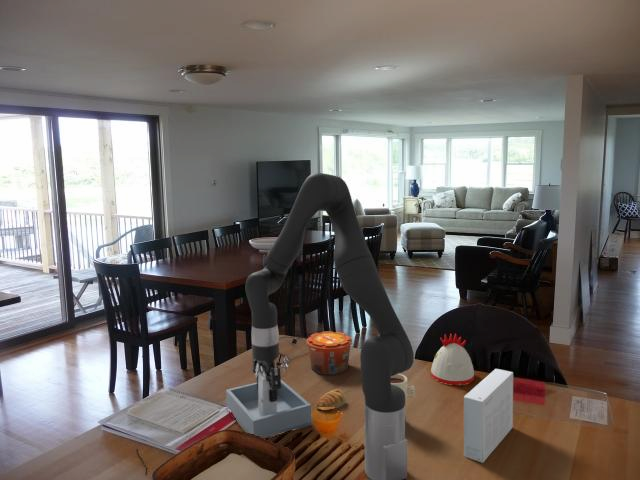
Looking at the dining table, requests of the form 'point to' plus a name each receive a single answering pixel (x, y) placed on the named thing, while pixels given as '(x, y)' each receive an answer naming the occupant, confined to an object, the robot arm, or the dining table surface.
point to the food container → (329, 352)
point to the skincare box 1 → (265, 397)
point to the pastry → (332, 399)
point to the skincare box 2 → (488, 414)
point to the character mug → (403, 385)
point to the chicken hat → (452, 363)
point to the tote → (289, 414)
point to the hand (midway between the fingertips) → (266, 395)
